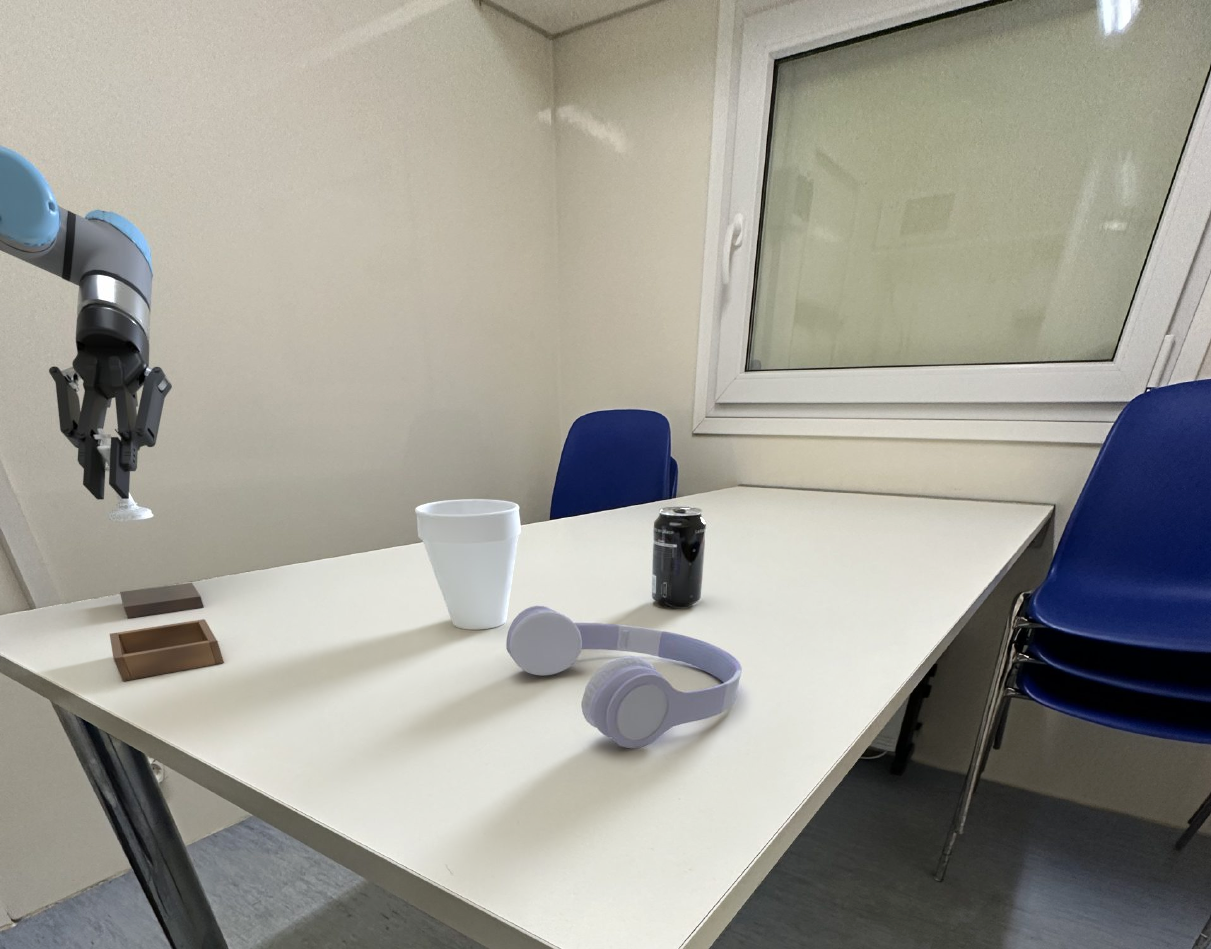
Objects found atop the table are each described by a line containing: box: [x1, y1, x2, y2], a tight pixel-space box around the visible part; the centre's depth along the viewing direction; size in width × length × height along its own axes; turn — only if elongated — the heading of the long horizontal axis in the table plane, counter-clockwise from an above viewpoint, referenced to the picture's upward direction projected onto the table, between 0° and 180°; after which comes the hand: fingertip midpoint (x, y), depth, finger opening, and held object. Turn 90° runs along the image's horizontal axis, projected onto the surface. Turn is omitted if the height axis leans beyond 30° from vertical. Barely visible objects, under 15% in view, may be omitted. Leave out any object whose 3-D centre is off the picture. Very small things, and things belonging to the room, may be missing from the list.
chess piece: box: [94, 428, 155, 522], centre depth 83 cm, size 5×5×10 cm
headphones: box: [505, 605, 743, 749], centre depth 65 cm, size 22×7×20 cm
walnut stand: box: [119, 582, 205, 619], centre depth 93 cm, size 9×9×2 cm
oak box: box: [109, 618, 225, 682], centre depth 74 cm, size 10×10×2 cm
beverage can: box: [651, 506, 707, 609], centre depth 90 cm, size 7×7×12 cm
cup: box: [414, 498, 522, 631], centre depth 83 cm, size 12×12×14 cm
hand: (106, 491), depth 81 cm, fingers closed on chess piece, 2 cm apart
